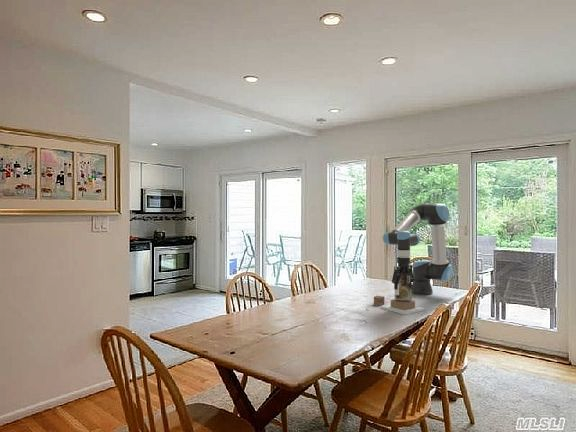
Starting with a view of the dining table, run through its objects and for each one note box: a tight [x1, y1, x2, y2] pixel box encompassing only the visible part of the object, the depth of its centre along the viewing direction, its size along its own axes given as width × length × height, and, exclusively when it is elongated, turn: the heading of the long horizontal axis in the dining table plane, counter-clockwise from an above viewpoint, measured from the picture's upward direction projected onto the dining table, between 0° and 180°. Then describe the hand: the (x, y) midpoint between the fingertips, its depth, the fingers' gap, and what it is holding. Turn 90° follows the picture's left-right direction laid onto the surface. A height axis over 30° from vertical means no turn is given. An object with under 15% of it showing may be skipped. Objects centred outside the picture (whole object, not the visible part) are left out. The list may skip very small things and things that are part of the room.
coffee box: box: [394, 272, 413, 301], centre depth 236 cm, size 9×6×16 cm
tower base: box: [380, 298, 426, 316], centre depth 236 cm, size 18×18×5 cm
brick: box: [373, 295, 385, 307], centre depth 248 cm, size 5×5×5 cm
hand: (403, 293), depth 236 cm, fingers closed on coffee box, 10 cm apart
